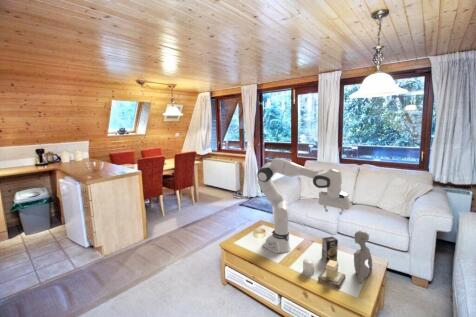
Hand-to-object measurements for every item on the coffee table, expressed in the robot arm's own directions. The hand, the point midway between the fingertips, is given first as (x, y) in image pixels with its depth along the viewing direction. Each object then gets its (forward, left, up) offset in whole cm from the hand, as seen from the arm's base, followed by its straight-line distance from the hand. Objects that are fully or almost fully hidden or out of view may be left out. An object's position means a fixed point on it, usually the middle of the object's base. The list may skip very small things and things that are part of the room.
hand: (333, 212), depth 165 cm
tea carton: (+5, -15, -36) cm, 39 cm away
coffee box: (-4, +7, -39) cm, 40 cm away
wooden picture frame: (+5, -15, -39) cm, 42 cm away
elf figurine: (+18, +3, -39) cm, 43 cm away
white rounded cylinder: (-10, -17, -39) cm, 44 cm away
